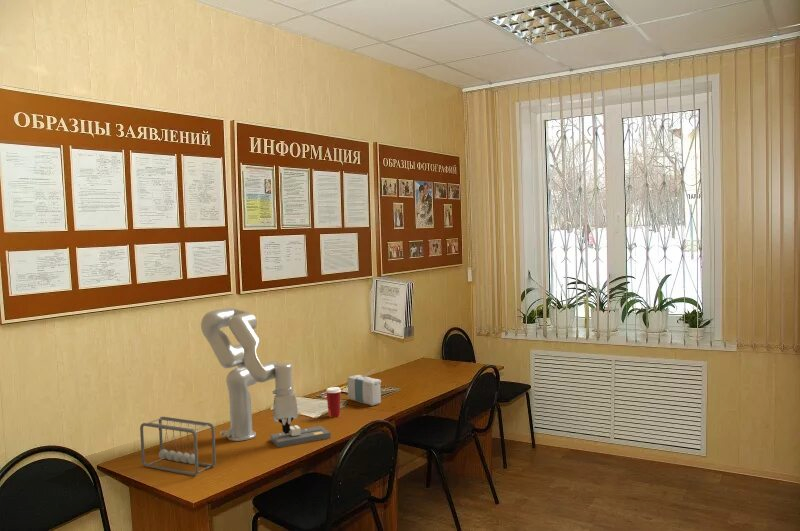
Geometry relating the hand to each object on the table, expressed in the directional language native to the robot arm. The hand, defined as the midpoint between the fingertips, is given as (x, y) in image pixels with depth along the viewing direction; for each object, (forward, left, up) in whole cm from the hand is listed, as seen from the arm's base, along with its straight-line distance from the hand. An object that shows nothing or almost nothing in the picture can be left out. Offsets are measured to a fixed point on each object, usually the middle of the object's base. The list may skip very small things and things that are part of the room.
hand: (286, 432), depth 270 cm
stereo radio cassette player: (+56, +42, -4) cm, 71 cm away
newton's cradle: (-46, -6, -4) cm, 47 cm away
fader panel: (+6, 0, -4) cm, 7 cm away
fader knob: (+4, 0, -1) cm, 4 cm away
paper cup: (+32, +26, -4) cm, 42 cm away
